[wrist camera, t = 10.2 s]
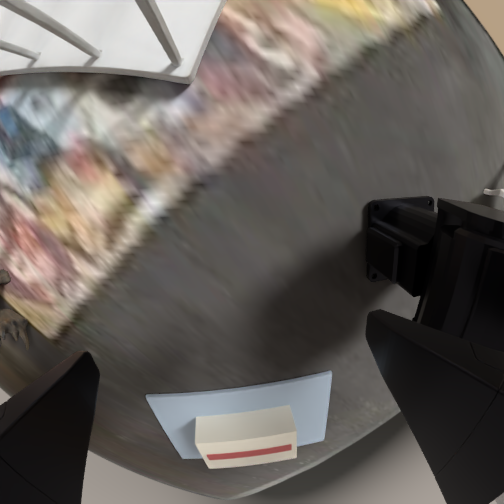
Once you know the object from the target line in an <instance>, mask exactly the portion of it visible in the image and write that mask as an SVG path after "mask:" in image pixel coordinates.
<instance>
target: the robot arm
mask: <svg viewBox="0 0 504 504" xmlns="http://www.w3.org/2000/svg"><path fill="white" fill-rule="evenodd" d="M428 201H429V204H428ZM375 205H377V208H376V209H375V210H374V206H375ZM437 207H438V213H436V212H434V199H433V198H432V197H429V196H421V197H406V198H393V199H381V200H373V201H371V202H370V203H369V206H368V230H367V245H366V261H367V262H368V263H367V278H368V279H369V280H370V281H371V282H376V281H380V280H385V279H388V280H390V281H391V282H392V283H394V284H395V283H397V284H398V285H400V286H401V287H402V288H403V289H404V290H406V291H407V292H408V293H409V294H410V295H412V296H413V297H416V296H421V297H420V300H419V304H418V307H417V311H416V314H415V317H414V318H413V319H412V321H411V320H408V319H406V318H403V317H400V316H397V315H395V314H392V313H389V312H387V311H384V310H381V309H379V310H375V311H371V312H369V313H368V316H367V325H366V340H367V342H368V344H369V347H370V349H371V351H372V354H373V356H374V358H375V361H376V363H377V366H378V368H379V370H380V373H381V375H382V377H383V379H384V381H385V383H386V384H387V386H388V388H389V390H390V392H391V393H392V395H393V397H394V399H395V401H396V402H397V404H398V406H399V408H400V410H401V412H402V413H403V415H404V417H405V419H406V421H407V423H408V425H409V427H410V429H411V430H412V432H413V434H414V436H415V438H416V440H417V442H418V444H419V446H420V448H421V450H422V452H423V454H424V456H425V458H426V460H427V462H428V464H429V466H430V468H431V470H432V472H433V474H434V476H435V479H436V481H437V483H438V485H439V488H440V489H441V492H442V494H443V496H444V499H445V501H446V503H447V504H489V503H490V502H492V501H493V500H495V501H496V502H497V504H504V212H503V211H500V210H497V209H494V208H491V207H487V206H484V205H480V204H475V203H469V202H462V201H456V200H449V199H442V198H438V202H437ZM374 273H375V275H374V276H373V277H372V275H373V274H374ZM99 378H100V373H99V369H98V367H97V366H96V364H95V362H94V360H93V358H92V356H91V354H90V353H89V352H88V351H77V352H76V353H74V354H73V355H71V356H70V357H68V358H67V359H65V360H64V361H62V362H61V363H60V364H58V365H57V366H55V367H54V368H52V369H51V370H50V371H48V372H47V373H45V374H44V375H42V376H41V377H40V378H38V379H37V380H35V381H34V382H32V383H31V384H30V385H28V386H27V387H25V388H24V389H23V390H21V391H20V392H18V393H17V394H16V395H14V396H13V397H11V398H10V399H9V400H8V401H7V402H4V403H3V404H2V405H0V504H81V498H82V488H83V480H84V472H85V465H86V458H87V452H88V446H89V441H90V436H91V430H92V425H93V421H94V415H95V409H96V400H97V392H98V385H99Z"/></svg>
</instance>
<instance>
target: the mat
mask: <svg viewBox="0 0 504 504" xmlns="http://www.w3.org/2000/svg"><path fill="white" fill-rule="evenodd" d="M331 379H332V372H331V370H330V371H326V372H322V373H318V374H313V375H309V376H304V377H299V378H294V379H289V380H284V381H278V382H273V383H267V384H261V385H254V386H247V387H240V388H232V389H223V390H214V391H203V392H190V393H173V394H146V399H147V401H148V403H149V405H150V407H151V408H152V410H153V412H154V414H155V415H156V417H157V419H158V421H159V422H160V424H161V426H162V427H163V429H164V431H165V432H166V434H167V436H168V437H169V439H170V441H171V442H172V444H173V445H174V447H175V448H176V450H177V451H178V453H179V454H180V456H181V457H182V459H197V458H203V457H202V455H201V454H200V452H199V450H198V448H197V446H196V445H195V428H196V417H200V416H213V415H224V414H233V413H241V412H249V411H256V410H263V409H269V408H275V407H280V406H286V405H290V409H291V412H292V416H293V419H294V423H295V426H296V430H297V446H302V445H306V444H311V443H315V442H319V441H323V440H324V437H325V430H326V423H327V415H328V407H329V398H330V389H331Z"/></svg>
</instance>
